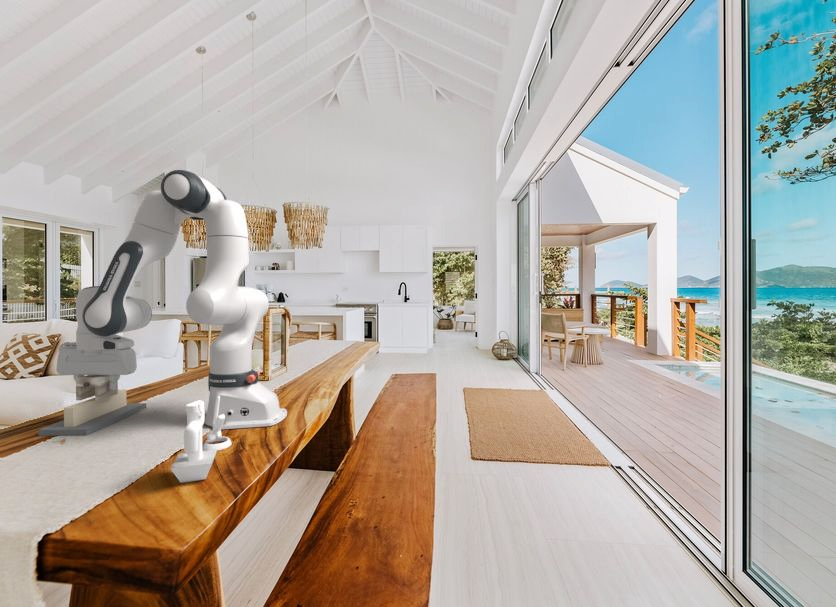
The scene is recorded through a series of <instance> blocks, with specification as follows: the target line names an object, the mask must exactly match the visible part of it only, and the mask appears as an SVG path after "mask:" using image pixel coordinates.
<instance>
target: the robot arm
mask: <svg viewBox="0 0 836 607" xmlns="http://www.w3.org/2000/svg"><path fill="white" fill-rule="evenodd" d="M246 217H247V216H246V214H245V210H244V207H243V206H242V205H241V204H240V203H238V202H236V201H234V200H231V199H227V197H226V195H225V193H224V192H223V191H222V190H221V189H220V188H218V187H217V186H215V185H213V183H211V182H210V181H209V180H207V179H205V178H203V177H202V176H199V175H197V174H196V173H194V172H192V171H188V170H186V169H185V170H184V169H174V170H172V171H169V172H167V173H166V174H165V176H163V178H162V179H161V182H160V190H159V189H157V190H156V189H155V190H151V191H149V192H148V193H147V194H146V195H145V197H144V199H143V200H142V202H141V203H140V205H139V208H138V209H137V211H136V215H135V216H134V220H133V223H132V225H131V228H130V230H129V231H128V232H129V233H128V234H127V236H126V238H125V240H124V241H123V243H122V244H121V245H120V246H119V247H118V249H117V250H116V252H115V253H114V255H113V256H112V259H111V261H110V264H109V265H108V268H107V270H106V272H105V273H104V276H103V278H102V280H101V283H100V284H99V285H97V286H96V285H93V286H88V287H84V288H82V289H80V290H79V292H78V293H77V296H76V302H75V319H76V321H77V328H76V331H75V332H76V333H75V335H76V336H75V338H76V341H73V342H70V341H66V342H65V341H64V342H63V343H62V344H61V345H59V346H58V355H57V360H56V367H55V369H56V373H57V374H58V375H60V376H73V380H74V381H75V382H76V378H79V377H83V376H87V375H110V379H112V380H111V382H110V384H106V387H107V388H106V389H107V390H115V389H116V383H117V381H119V380H120V378H121V376H127V375H132V374H134V373H135V372H136V370H137V364H138V362H137V355H136V354H137V353H136V351H135V350H134V348H133V347H134V346H135V341H134V340H133V339H130V338H127V337H124V336H121V335H119V333H120V334H121V333H126V332H127V333H128V332H131V331H137V330H140V329H143V328H145V327H146V326H147V325H148V324H150V322H151V320H152V316H153V313H152V311H153V310H152V307H151V306H150V304H149V303H148V302H147V301H146V300H145V299H142V298H138V297H133V296H130V295H128V294H129V292H130V290H131V288H132V285H133V283H134V281H135V279H136V276H137V275H138V273H139V272H140V271H141V270H142V269H144V268H145V267H147V266H148V265H150V264H152V263H154V262H157V261H160V260H162V259H164V258H166V257H168V256H169V255H170V254H171V252H172V250H173V249H174V247H175V245H176V242H177V238H178V237H179V232H180V229H181V226H182V224H183V223H184V221H185V220H187V219H189V218H190V219H192V220H194V221H204V223H205V229H206V230H205V232H206V234H205V237H206V265H205V266H206V267H205V271H204V274H203V276H202V279H201V280H200V283H199V284H198V285H197V286H196V288H194V289H193V290H192V291H191V292H190V293H189V295H188V297H187V298H186V299H187V300H186V303H185V304H186V305H185V308H186V312H187V315H188V317H189V318H190V319H191V320H192V322H194V323H196V324H200V325H201V324H202V325H205V326H222V328H221V331H220V334H219V335H218V337H217V338H216V339H215V340H213V341H212V343H211V344H210V347H209V372H208V377H207V380H208V381H207V382H208V384H207V385H208V391H209V396H208V405H207V409H206V413H205V420H204V424H205V425H206V426H209V427H211V428H212V429H213V427H214V424H215V421H216V419H217V417H218V416H220V415H222V414H224V415H225V420H224V422H223V425H222V428H221V430H230V429H231V430H232V429H244V428H245V429H248V428H260V427H271V426H274V425H277V424H279V423H280V422H282V421H284V420H285V419H286V417H288V416H287V415H288V409H286V408H285V407H283V408H281V407H280V402H279V397H278V395H277V394H276V393H275V392H274V391H273V390H271V389H269V388H268V387H266V386H265V385H263V383H261V382H259V376H261V372H260V371H258V372H257V371H256V370H254V369H253V365H252V364H253V363H252V362H253V359H252V358H253V355H252V354H253V343H254V338H255V334H256V330H257V328H258V326H259V323H260V322H261V320H262V319H263V317H265V316H266V314H267V313H268V310H269V306H270V304H269V303H270V302H269V299H268V297H267V295H266V293H265V292H264V291H262V290H260V289H257V288H254V287H250V286H239V280H240V277H241V275H242V274H243V272H244V271H246V270H247V269H248V268H249V265H250V245H249V230H248V223H247V218H246Z"/></svg>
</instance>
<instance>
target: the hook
mask: <svg viewBox="0 0 836 607" xmlns="http://www.w3.org/2000/svg"><path fill="white" fill-rule="evenodd" d="M224 420H225V415H224V414H222V415H220V416H218V417H217V419H216V421H215V424H214V427H213V428H212V430H209V431H208V432H207V434H206V439H207V440H204V443H203V444H202V451H207V450H215V449H217V451H221V450H224V449H227V448H230V446H232V441H231V439H230V437H228V436H222V429H221V428H222V425H223V422H224ZM219 442H220V443H219Z"/></svg>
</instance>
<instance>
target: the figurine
mask: <svg viewBox="0 0 836 607" xmlns="http://www.w3.org/2000/svg"><path fill="white" fill-rule="evenodd" d="M185 412H186V427H185V429H184V431H183V432H184V433H183V451H184V452H182V453H178V455H177V456H176V458H175V459H174V461H173V463H172V464H171V466H170V468H169V469H170V471H171V472H172V473H173V475H175V478H177V480H178V481H179V483H180V484H181V483H183V484H184V483H188V482H195V481H202V480H206V479H207V477H208V474H209V473H210V469H211V468H212V466H213V463H214V460H215V457H216V454H217V452H218V450H217V449H215V450H207V451H206V450H203V449H202V447H203V426H204V424H205V423H204V420H205V417H206V413H205V401H203V400H194V401H193V402H190V403H189V402H188V403H187V404H186V405H185Z"/></svg>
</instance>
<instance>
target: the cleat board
mask: <svg viewBox="0 0 836 607" xmlns="http://www.w3.org/2000/svg"><path fill="white" fill-rule="evenodd" d="M127 402H128V401H127V389H119V388H118V394H116V395H113V396H110V397H108V398H105V399H102V400H95V397H92V398H90V399H89V398H88V399H85V400H84V401H82V402H78V403H76V404H72V405H70V406H67V407H63V420H61V421H58V422H55V423H53V424H51V425H48V426H45V427H42V428H39V429H38V430H37V431H38V433H37V435H38V436H39V437H40V436H43V437H45V436H52V437H53V436H88V435H90V434H92V433H94V432H96V431H99V430H101V429H103V428H106V427H108V426H110V425H111V424H114V423H117V422H118V420H119V421H120V419H121V420H123V419H125V418H127V416H128V417H129V415H130V416H132V415H134V414H136V413H138V411H139V412H140V410H141V411H143V410H145V409H147V403H141V402H139V403H130V402H129V403H127ZM144 408H145V409H144ZM142 409H143V410H142ZM135 412H136V413H135ZM133 413H134V414H133ZM131 414H132V415H131ZM122 418H123V419H122ZM116 421H117V422H116Z"/></svg>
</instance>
